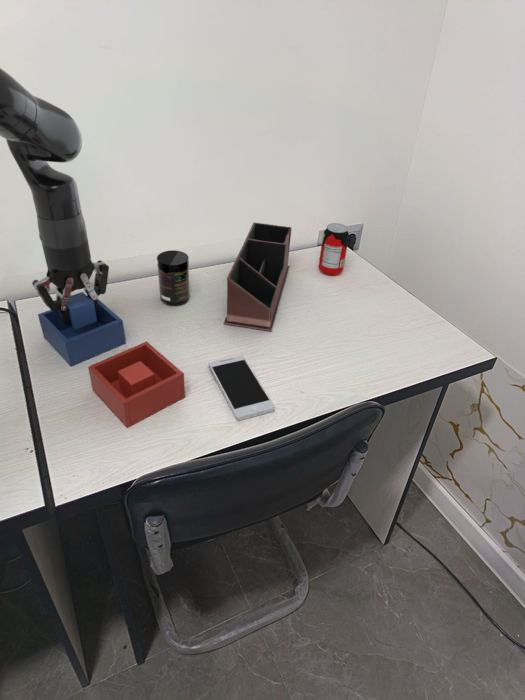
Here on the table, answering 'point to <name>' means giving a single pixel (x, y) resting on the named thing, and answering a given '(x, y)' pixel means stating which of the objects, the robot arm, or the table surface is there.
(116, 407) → the red bin
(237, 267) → the desk organizer
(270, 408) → the smartphone
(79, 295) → the blue block
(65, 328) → the blue bin
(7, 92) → the robot arm
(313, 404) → the table surface
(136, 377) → the red block
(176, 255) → the supplement container
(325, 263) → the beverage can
